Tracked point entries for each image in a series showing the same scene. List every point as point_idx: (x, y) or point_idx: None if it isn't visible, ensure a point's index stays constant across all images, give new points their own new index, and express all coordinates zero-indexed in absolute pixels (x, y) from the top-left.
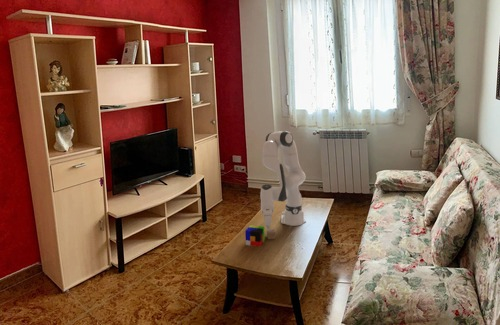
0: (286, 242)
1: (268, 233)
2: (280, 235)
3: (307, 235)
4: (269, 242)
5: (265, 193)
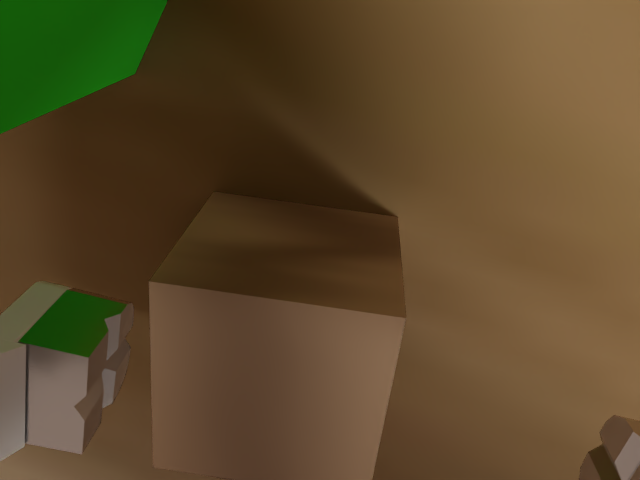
0: (9, 457)
1: (161, 273)
2: None
3: None
4: (14, 166)
5: None
